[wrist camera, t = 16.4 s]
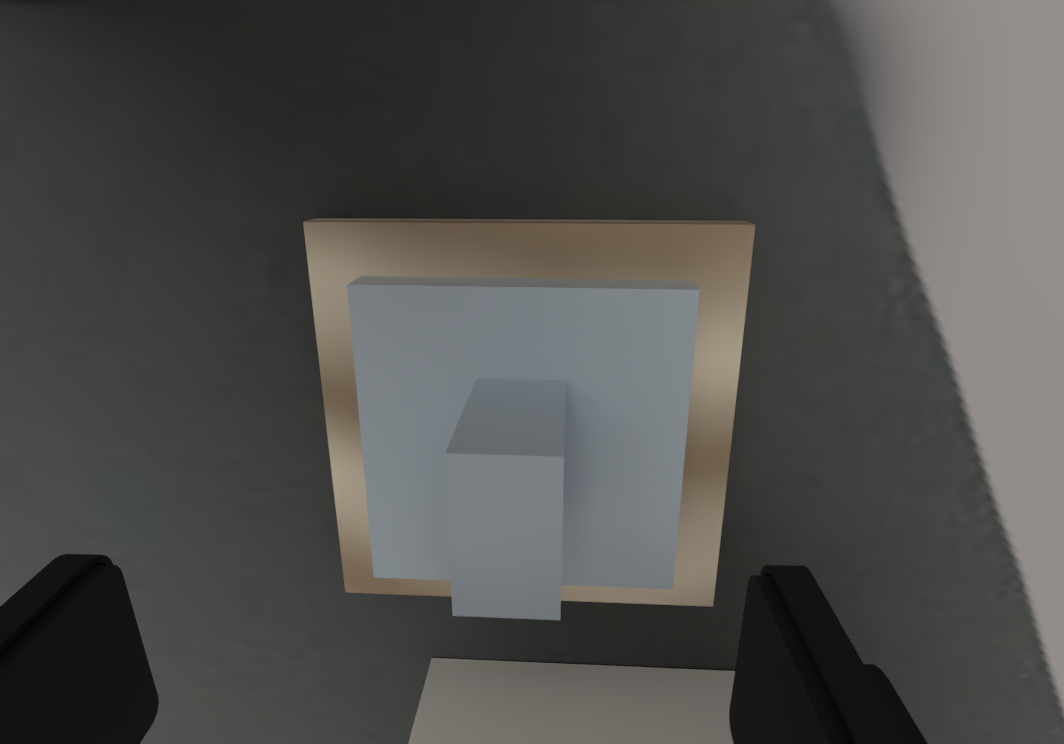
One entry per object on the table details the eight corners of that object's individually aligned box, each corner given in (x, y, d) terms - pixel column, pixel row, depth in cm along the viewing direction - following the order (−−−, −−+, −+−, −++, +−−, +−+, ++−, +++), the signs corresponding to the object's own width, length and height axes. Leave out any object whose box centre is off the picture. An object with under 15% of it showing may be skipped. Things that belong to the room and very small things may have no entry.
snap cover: (361, 276, 18) (269, 330, 12) (691, 280, 17) (745, 340, 12) (384, 553, 21) (318, 696, 15) (666, 564, 20) (701, 715, 15)
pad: (316, 218, 18) (302, 221, 17) (746, 220, 18) (755, 224, 17) (355, 573, 22) (345, 592, 21) (706, 586, 22) (713, 606, 21)
